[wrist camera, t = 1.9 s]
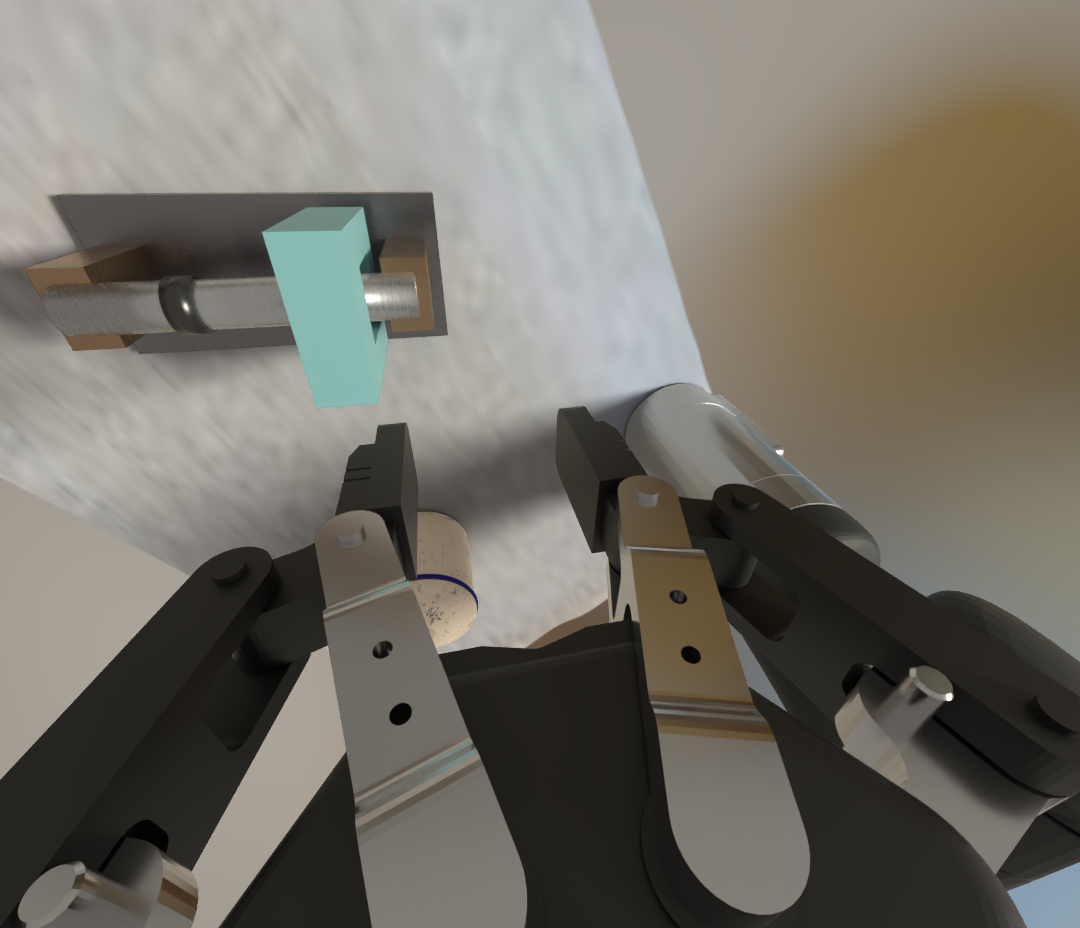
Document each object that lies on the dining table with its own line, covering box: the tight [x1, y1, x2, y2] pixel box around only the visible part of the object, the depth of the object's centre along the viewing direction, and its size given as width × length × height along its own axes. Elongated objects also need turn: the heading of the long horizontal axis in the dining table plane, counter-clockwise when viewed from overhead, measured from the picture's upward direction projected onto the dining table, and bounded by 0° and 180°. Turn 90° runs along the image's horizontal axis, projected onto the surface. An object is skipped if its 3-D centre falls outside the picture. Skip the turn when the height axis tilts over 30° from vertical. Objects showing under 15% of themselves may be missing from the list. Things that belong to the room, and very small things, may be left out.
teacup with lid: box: [410, 512, 478, 647], centre depth 41 cm, size 12×9×12 cm
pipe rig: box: [24, 192, 448, 354], centre depth 26 cm, size 20×9×8 cm, turn 89°
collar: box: [262, 207, 388, 409], centre depth 24 cm, size 3×8×9 cm, turn 179°
